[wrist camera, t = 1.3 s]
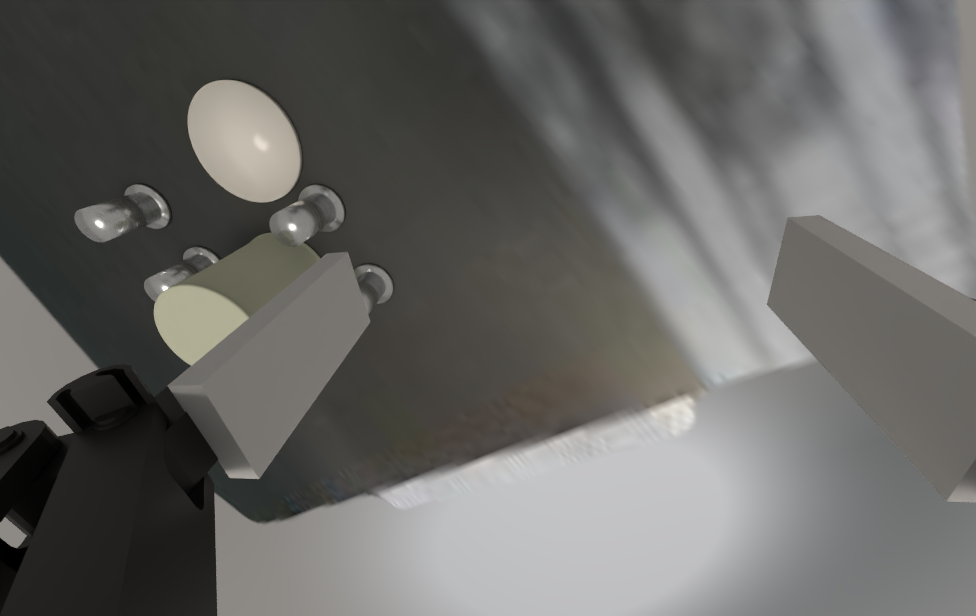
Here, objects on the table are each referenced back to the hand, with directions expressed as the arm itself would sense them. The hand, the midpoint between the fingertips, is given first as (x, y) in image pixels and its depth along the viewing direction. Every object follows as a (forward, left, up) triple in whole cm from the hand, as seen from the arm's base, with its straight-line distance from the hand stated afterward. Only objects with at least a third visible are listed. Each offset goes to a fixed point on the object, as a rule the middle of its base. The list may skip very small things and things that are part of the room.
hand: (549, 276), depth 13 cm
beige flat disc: (-19, -18, -24) cm, 35 cm away
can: (-10, -27, -24) cm, 38 cm away
